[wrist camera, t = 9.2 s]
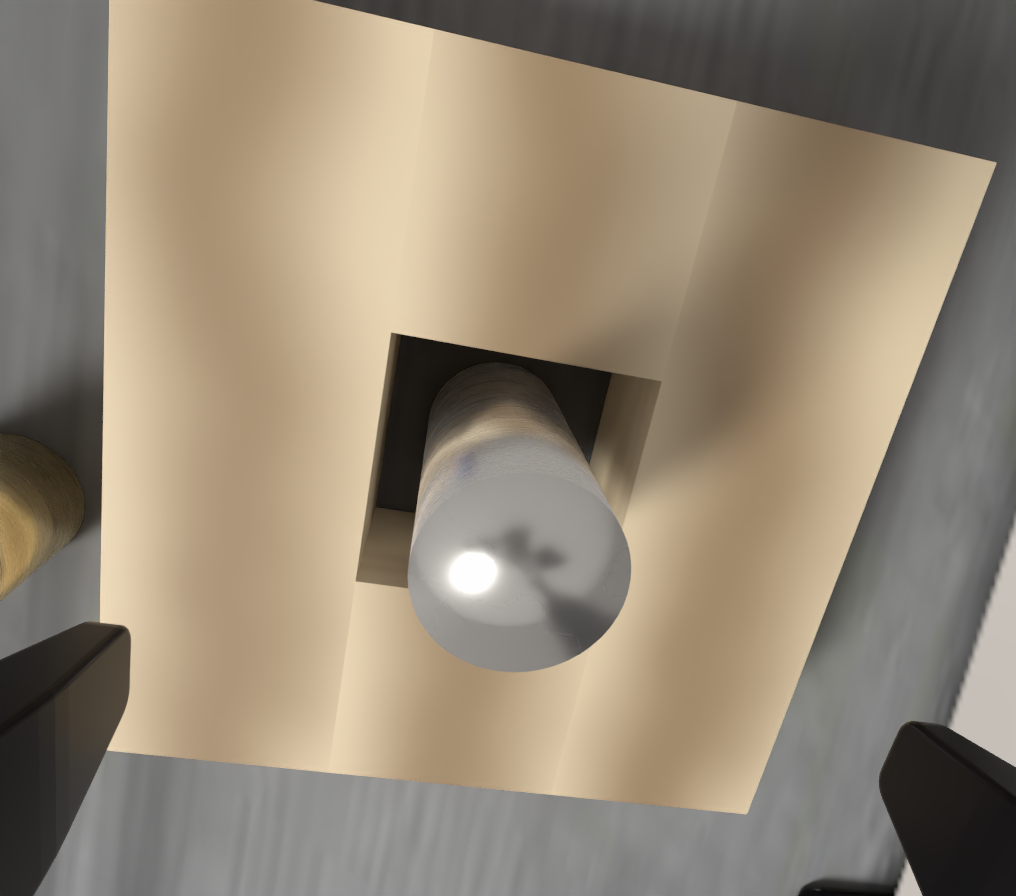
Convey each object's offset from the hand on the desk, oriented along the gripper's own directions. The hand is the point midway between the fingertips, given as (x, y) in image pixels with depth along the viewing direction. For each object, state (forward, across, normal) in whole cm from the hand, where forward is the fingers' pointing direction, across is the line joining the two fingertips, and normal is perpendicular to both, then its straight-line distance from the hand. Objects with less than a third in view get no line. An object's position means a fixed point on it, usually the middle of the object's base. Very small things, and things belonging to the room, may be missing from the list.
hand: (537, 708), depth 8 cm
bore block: (+11, 0, 0) cm, 11 cm away
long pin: (+11, 0, 0) cm, 11 cm away
